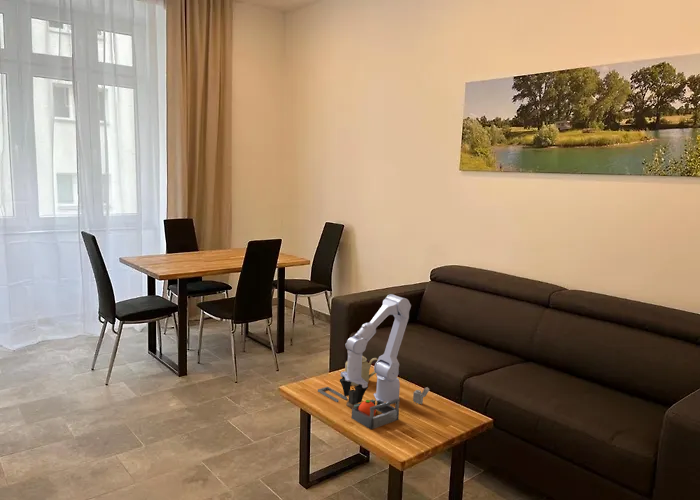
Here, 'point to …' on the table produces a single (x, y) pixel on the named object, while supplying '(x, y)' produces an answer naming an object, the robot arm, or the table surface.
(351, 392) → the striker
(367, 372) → the beige teapot
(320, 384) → the table surface
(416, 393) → the lighter
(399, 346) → the robot arm
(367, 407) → the tomato
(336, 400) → the track
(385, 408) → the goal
